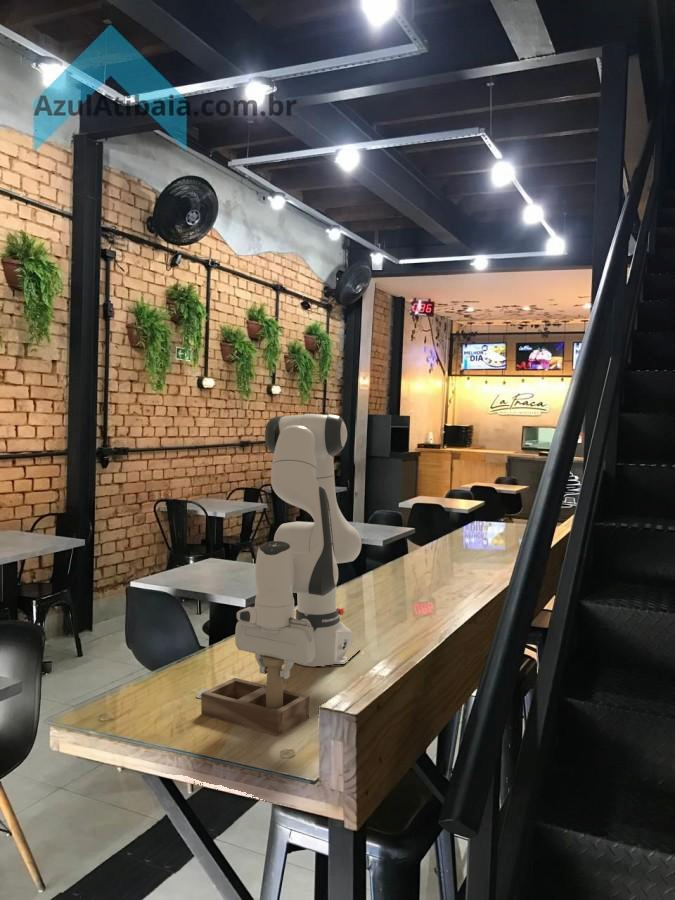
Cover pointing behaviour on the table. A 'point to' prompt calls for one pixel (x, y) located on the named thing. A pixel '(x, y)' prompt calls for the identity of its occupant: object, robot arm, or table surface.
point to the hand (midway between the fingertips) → (274, 675)
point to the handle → (274, 682)
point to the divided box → (254, 707)
